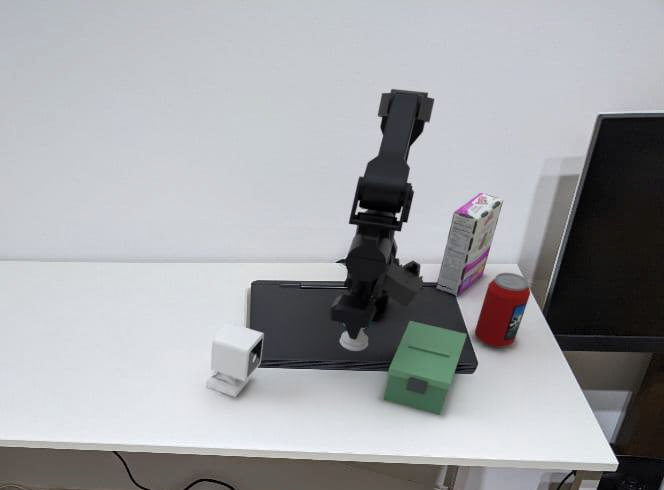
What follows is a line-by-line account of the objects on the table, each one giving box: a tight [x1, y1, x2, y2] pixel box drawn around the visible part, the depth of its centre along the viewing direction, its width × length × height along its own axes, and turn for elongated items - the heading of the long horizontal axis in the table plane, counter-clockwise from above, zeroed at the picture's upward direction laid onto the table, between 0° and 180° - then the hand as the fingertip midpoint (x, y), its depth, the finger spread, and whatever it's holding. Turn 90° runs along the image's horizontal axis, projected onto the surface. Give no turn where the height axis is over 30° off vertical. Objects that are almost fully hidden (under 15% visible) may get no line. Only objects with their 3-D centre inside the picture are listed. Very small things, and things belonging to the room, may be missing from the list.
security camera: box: [205, 322, 265, 397], centre depth 138 cm, size 6×7×10 cm
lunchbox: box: [383, 320, 468, 416], centre depth 140 cm, size 9×16×7 cm, turn 153°
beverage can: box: [474, 272, 531, 348], centre depth 148 cm, size 7×7×12 cm
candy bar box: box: [435, 192, 504, 297], centre depth 162 cm, size 11×5×16 cm, turn 137°
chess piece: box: [339, 328, 369, 352], centre depth 141 cm, size 5×5×8 cm
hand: (355, 333), depth 142 cm, fingers closed on chess piece, 3 cm apart
